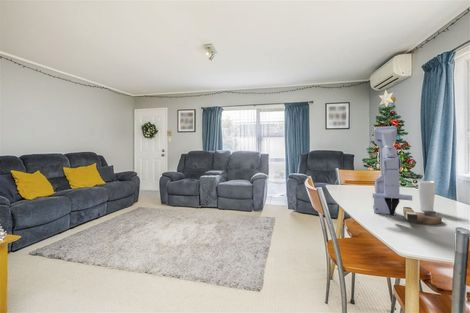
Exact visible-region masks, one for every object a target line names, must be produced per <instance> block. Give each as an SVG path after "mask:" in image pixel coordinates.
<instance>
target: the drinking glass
mask: <svg viewBox="0 0 470 313" xmlns="http://www.w3.org/2000/svg"><path fill="white" fill-rule="evenodd" d="M417 190H418V201H419V210H420V211H421V212H424V210H429V211H434V207H435V206H434V205H435V195H436V182H435V181H432V180H431V181H429V180H419V181H418V183H417Z"/></svg>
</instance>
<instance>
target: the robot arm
mask: <svg viewBox="0 0 470 313" xmlns="http://www.w3.org/2000/svg"><path fill="white" fill-rule="evenodd" d="M397 136H398V128H397V126H396V125H391V126H390V125H389V126H378V127H377V126H375V127H374V128H373V142H374V144H375V145H376V146H378V149H379V165H380V166H379V167H380V175H379V176H378V177H376V178H375V180H374V193H372V199H373V205H372V210H373V213H375V214H381V215H382V214H383V215H389V216H390V217H392V216H393V217H394V216H395V215H396V216H397V215H398V213H397V212H396V209H397V207H398V206H399V204H400V201H413V195H411V194H409V195H408V194H400V171H401V168H402V162H401V161H402V160H401V157H400V156H399V155H398V151H397V148H396V147H395V146H394V144H395V142H396V139H397Z"/></svg>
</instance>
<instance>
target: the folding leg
mask: <svg viewBox="0 0 470 313" xmlns="http://www.w3.org/2000/svg"><path fill="white" fill-rule="evenodd" d="M402 212H403V213H402V214H403V216H404V218H405V217H406V219H407V220H406V219H405V220H406V222H407V223H413V224H417V215H416V214H415V212H416V211H414V210H413V208H412V207H410V206H409V207H408V206H404V207H403V211H402Z"/></svg>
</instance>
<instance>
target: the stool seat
mask: <svg viewBox="0 0 470 313" xmlns="http://www.w3.org/2000/svg"><path fill="white" fill-rule="evenodd" d="M414 212H415V214H416V215H417V223H416V224H418V225H424V226H425V225H426V226H438V225H440V226H441V225H442V223H443V222H442V221H443V218H442V217H441V216H439V215H437V212H436V211H435V210H433V211H429V210H424V211H423V212H422V211H421V212H418V211H414ZM404 220H405V221H407V219H406V217H405V216H404Z"/></svg>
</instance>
